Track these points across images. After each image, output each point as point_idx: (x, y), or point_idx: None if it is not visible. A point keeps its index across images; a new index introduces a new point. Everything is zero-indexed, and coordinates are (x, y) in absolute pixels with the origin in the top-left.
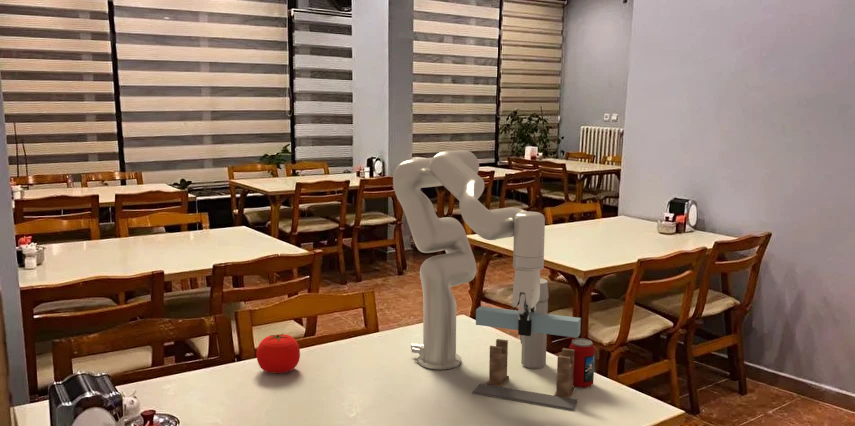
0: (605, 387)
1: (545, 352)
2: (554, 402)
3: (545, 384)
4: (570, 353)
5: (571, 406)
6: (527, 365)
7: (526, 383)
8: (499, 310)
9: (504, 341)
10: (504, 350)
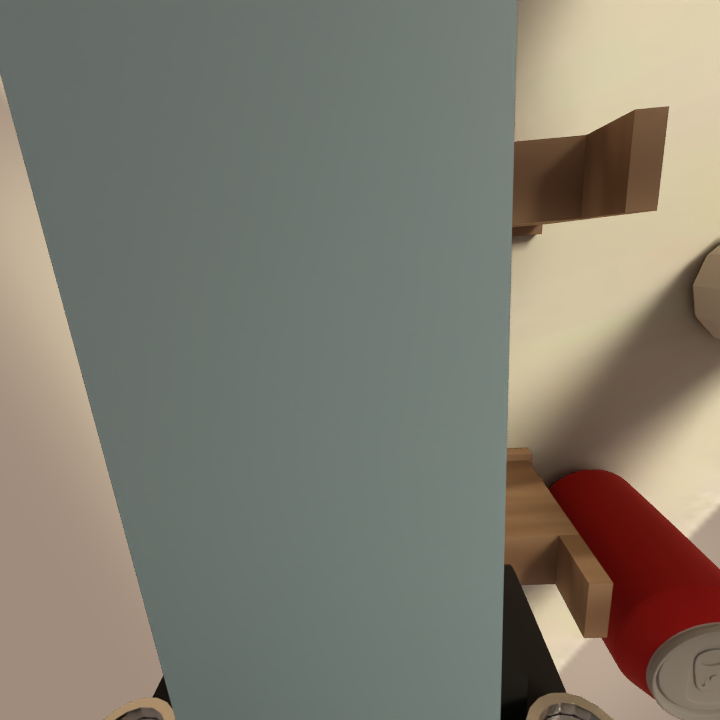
0: None
1: None
2: None
3: (533, 393)
4: (576, 607)
5: None
6: (702, 272)
7: (514, 322)
8: (270, 251)
9: (624, 192)
10: (586, 202)
